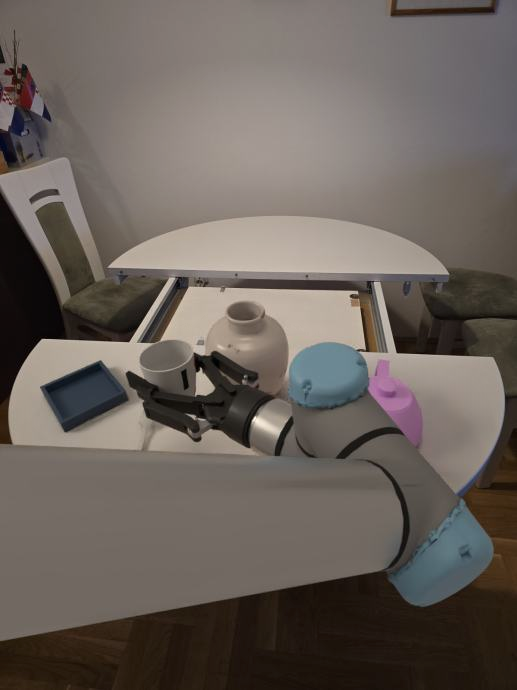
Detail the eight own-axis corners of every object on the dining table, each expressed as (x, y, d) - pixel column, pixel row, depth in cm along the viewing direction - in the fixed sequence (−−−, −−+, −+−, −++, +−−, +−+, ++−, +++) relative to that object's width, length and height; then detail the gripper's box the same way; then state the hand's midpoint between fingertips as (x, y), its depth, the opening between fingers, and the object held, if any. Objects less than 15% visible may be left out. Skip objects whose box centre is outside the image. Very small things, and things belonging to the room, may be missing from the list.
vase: (282, 435, 77) (285, 341, 63) (203, 426, 80) (188, 333, 66) (290, 379, 90) (293, 290, 76) (221, 373, 92) (212, 285, 78)
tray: (64, 432, 79) (60, 423, 78) (43, 395, 88) (39, 386, 86) (129, 400, 86) (126, 391, 84) (103, 368, 94) (100, 359, 93)
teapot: (338, 386, 88) (344, 342, 80) (412, 394, 85) (426, 350, 78) (333, 472, 71) (340, 426, 63) (426, 486, 68) (445, 440, 61)
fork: (123, 497, 70) (118, 489, 69) (148, 402, 85) (145, 393, 83) (139, 497, 70) (135, 490, 68) (161, 402, 85) (159, 393, 83)
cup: (193, 424, 61) (182, 373, 56) (144, 419, 63) (128, 369, 57) (208, 389, 68) (200, 340, 62) (164, 385, 69) (151, 337, 64)
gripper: (214, 497, 48) (102, 419, 60) (306, 400, 61) (198, 352, 73) (205, 456, 44) (87, 381, 56) (306, 360, 57) (192, 316, 69)
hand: (150, 364), depth 64 cm, fingers closed on cup, 8 cm apart
